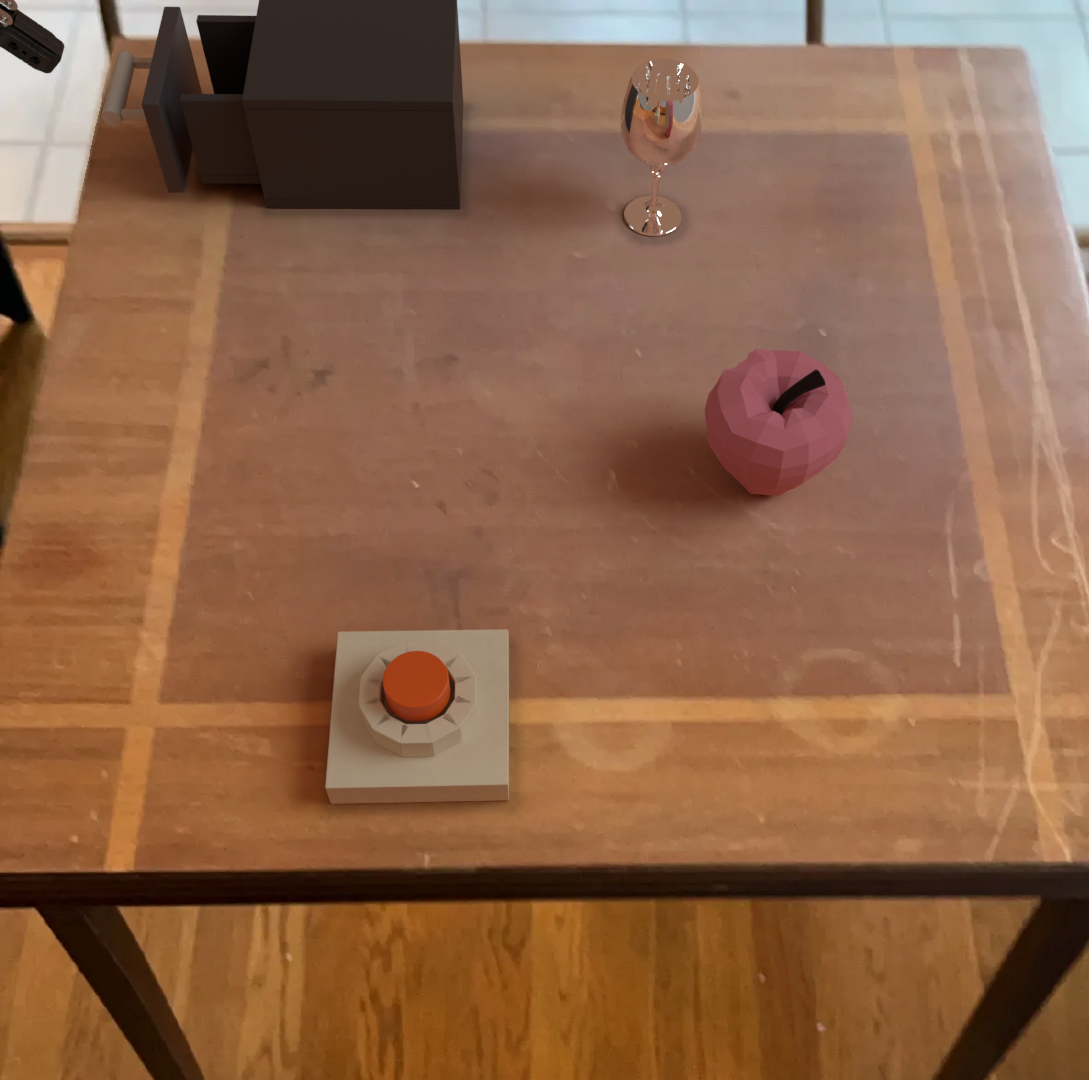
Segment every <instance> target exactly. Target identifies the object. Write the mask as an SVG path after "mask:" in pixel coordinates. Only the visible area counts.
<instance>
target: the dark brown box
mask: <svg viewBox="0 0 1089 1080" xmlns="http://www.w3.org/2000/svg"><path fill="white" fill-rule="evenodd" d="M458 11H459V10H458V0H258V4H257V9H256V15H255V16H256V21H255V27H254V33H253V39H252V45H251V51H250V57H249V62H248V68H247V74H246V80H245V86H244V92H243V98H242V101H243V106H244V110H245V115H246V119H247V124H248V128H249V132H250V137H251V141H252V146H253V150H254V154H255V159H256V163H257V167H258V172H259V176H260V181H261V184H260V185H261V188H262V194H263V198H264V202H265V206H266V208H267V209H403V210H405V209H406V210H407V209H408V210H409V209H413V210H414V209H419V210H420V209H423V210H424V209H425V210H426V209H428V210H431V209H432V210H433V209H435V210H436V209H439V210H443V209H444V210H445V209H446V210H447V209H448V210H450V209H451V210H454V209H455V210H459V209H461V201H462V200H461V199H462V198H461V196H462V195H461V194H462V165H463V163H462V162H463V128H464V91H463V90H464V89H463V75H462V73H463V72H462V60H461V42H460V26H459V25H460V24H459V12H458Z"/></svg>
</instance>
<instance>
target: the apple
mask: <svg viewBox="0 0 1089 1080" xmlns="http://www.w3.org/2000/svg"><path fill="white" fill-rule="evenodd" d="M704 418H705V424H706V432H707V433H706V434H707V440H708V446H709V448H710V449H711V451H712V452H713V453H714V456H716V457H715V458H717V460H718V462H719V463H720V464H721V466H722V467H723V468H724V469H725V470H726V472H727V473H729V474H730V475H731V476H733V477H734V479H735V480H736V481H737V482H738V483H739V484H740V485H741V486H742V487H743V488H744V489H745V490H746V491H747V492H748V493H749V494H752V495H762V496H763V495H764V496H778V497H779V496H780V495H783V494H785V493H787V491H791V490H793V489H796V488H797V487H800V486H801V485H802V484H804V483H806V482H808V481H809V480H811V479H812V478H814V477H815V476H817V475H818V474H819V473H821V472H822V471H824V470H825V469H826V468H827V467H829V465H831V464H832V463H833V462H834V461H835V460H836V459H838V457H839V455H840V454H841V452H842V451H843V449H844V447H845V445H846V442H847V438H848V435H849V432H850V429H851V427H852V426H851V425H852V421H853V413H852V409H851V406H850V402H849V399H848V396H847V391H846V389H845V386H844V383H843V380H842V379H841V378H840V377H839V376H838V375H837V374H835V372H833V371H832V370H831V369H830V368H829V367H828V366H827V365H825V364H824V363H822V362H820V361H819V360H817V359H815V358H813V357H812V356H810V355H808V354H806V353H805V352H803V351H801V350H781V349H780V350H779V349H777V350H776V349H766V348H754V350H752V351H751V352H749V353H748V354H747V358H745V360H743V361H739V362H738V363H737V365H736V366H734V367H731V368H727V369H723V370H722V372H721V375H720V376H719V378H718V380H717V381H716V383H715V384H714V386H713V388H712V389H711V390H710V391H709V393H708V395H707V398H706V402H705V407H704Z"/></svg>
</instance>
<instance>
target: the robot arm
mask: <svg viewBox="0 0 1089 1080" xmlns="http://www.w3.org/2000/svg"><path fill="white" fill-rule="evenodd" d="M18 8H19V7H18V3H17V1H16V0H0V48H1V49H3V50H4V51H6V52H7V53H9V54H11V55H13V57H15V58H17V59H18V60H20V61H22V62H23V63H24V64H26V65H28V66H29V67H31V68H32V69H34V70H36V71H38V72H41V73H44V74H51V73H53V72H54V70H55V69H56V67H57V66H58V65H59V64H60V62H61V61H62V57H63V54H64V51H65V43H64V42H63V41H62V40H61V39H59V38H58V37H57V36H56V35H55V34H54V33H53V32H52V31H50V30H49V29H47V28H46V27H44V26H43V25H42V24H39V23H38V22H37V21H35V20H34V19H32V18H31V17H29V16H28V15H27V14H25V13H24V12H22V11H21V10H19V9H18Z"/></svg>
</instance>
